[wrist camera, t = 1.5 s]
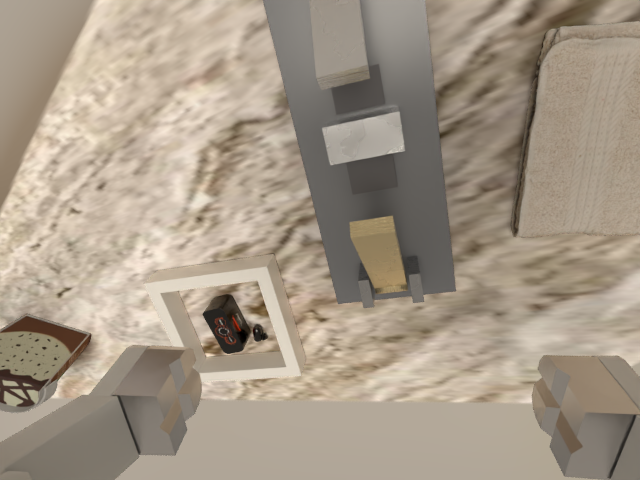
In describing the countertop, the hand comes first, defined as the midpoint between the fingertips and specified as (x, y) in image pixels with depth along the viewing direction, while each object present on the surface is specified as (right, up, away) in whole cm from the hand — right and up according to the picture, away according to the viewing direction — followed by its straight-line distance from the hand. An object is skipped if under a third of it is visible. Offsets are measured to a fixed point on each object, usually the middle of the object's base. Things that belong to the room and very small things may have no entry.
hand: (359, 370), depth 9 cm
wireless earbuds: (-11, -7, +39) cm, 41 cm away
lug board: (+3, +14, +27) cm, 30 cm away
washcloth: (+23, +12, +25) cm, 36 cm away
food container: (-37, -11, +45) cm, 60 cm away
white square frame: (-12, -6, +39) cm, 41 cm away
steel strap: (0, +19, +16) cm, 25 cm away
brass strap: (+4, +2, +23) cm, 24 cm away
